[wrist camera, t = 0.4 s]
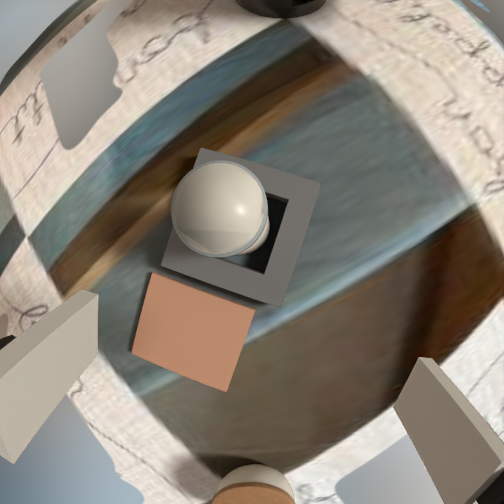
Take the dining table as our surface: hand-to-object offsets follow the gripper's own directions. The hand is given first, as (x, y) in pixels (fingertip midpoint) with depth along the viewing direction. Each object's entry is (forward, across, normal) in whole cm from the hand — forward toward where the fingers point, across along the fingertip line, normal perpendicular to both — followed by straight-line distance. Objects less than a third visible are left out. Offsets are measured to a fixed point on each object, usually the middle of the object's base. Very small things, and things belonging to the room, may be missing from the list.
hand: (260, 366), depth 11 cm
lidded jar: (+18, +8, -32) cm, 38 cm away
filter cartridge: (+26, -2, +1) cm, 26 cm away
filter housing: (+26, -2, +1) cm, 26 cm away
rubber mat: (+24, -5, -12) cm, 27 cm away
